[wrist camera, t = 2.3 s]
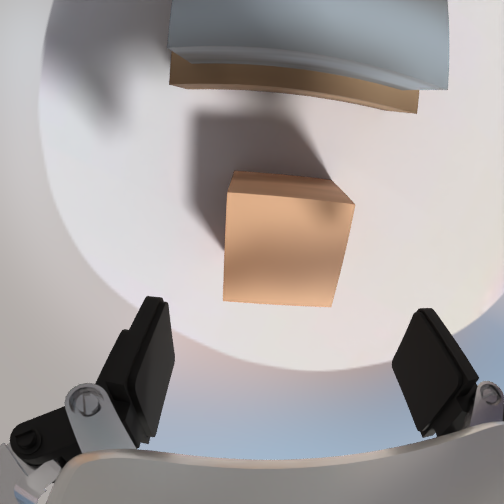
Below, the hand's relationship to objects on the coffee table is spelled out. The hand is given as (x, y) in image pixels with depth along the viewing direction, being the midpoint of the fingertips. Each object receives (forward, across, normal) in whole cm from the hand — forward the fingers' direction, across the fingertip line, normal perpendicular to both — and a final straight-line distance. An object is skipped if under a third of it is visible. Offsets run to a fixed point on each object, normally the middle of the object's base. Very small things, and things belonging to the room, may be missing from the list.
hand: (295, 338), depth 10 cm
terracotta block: (+10, 0, -1) cm, 10 cm away
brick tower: (+10, 0, -15) cm, 18 cm away
